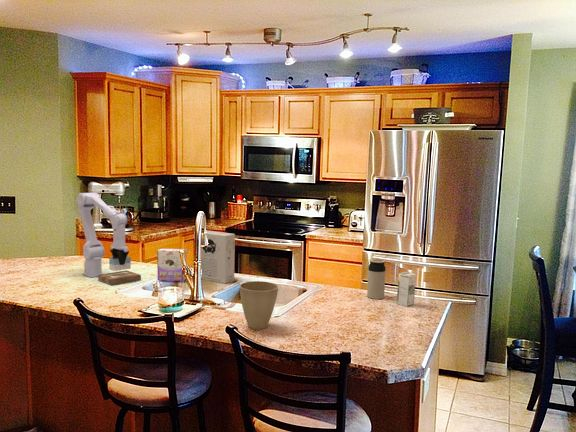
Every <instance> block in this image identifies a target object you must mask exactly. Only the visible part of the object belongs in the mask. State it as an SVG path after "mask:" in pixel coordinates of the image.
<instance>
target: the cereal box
mask: <svg viewBox="0 0 576 432" xmlns="http://www.w3.org/2000/svg"><path fill="white" fill-rule="evenodd" d="M235 236H236V234H235V233H229V232H222V231H214V230H208V229H207V238H208V243H209V244H208V246H205V247H202V249H201V269H202V279H201V280H206V281H210V282H214V283H219V284H220V283H221V284H229V283H231V282H234V281H235V255H236V254H235V251H236V249H235V248H236V247H235V244H236V243H235V242H236V237H235ZM193 239H195V231H194V233H193Z"/></svg>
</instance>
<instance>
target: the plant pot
mask: <svg viewBox="0 0 576 432" xmlns="http://www.w3.org/2000/svg"><path fill="white" fill-rule="evenodd" d="M278 291H279V285H278V284H277V283H274V282H269V281H260V280H253V281H245V282H242V283H240V284H239V292H240V294H239V295H240V301H241V306H242V310H243V315H244V319H245V321H246V323H247V326H248V328H250V329H254V330H262V329H266V328H267V327H268V325H269V324H270V323H269V322H270V321H271V318H272V315H273V311H274V309H275V304H276V301H277V296H278Z"/></svg>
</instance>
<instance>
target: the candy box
mask: <svg viewBox="0 0 576 432" xmlns="http://www.w3.org/2000/svg"><path fill="white" fill-rule="evenodd" d="M180 251H184V253H185V260H186V261H187V249H186V248H183V249H181V248H160V249H157V252H156V253H157V254H156V255H157V257H156V258H157V265H156V266H157V280H159V281H158V282H168V283H169V282H171V283H172V282H173V283H175V282H176V283H184V282H185V281H186V280H185V278H184V276H183V273H182V264H181V259H180V254H179V252H180Z"/></svg>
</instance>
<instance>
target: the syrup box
mask: <svg viewBox="0 0 576 432" xmlns="http://www.w3.org/2000/svg"><path fill="white" fill-rule="evenodd" d="M416 278H417V274H416V273H414V272H410V271H403V272H400V273H399V272H398V278H397V280H398V281H397V290H396V291H397V294H396V295H397V296H396V304H397V305H400V306H402V307H403V306H404V307H410V306H413V305H414V304H415V295H416V282H417V281H416Z"/></svg>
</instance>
